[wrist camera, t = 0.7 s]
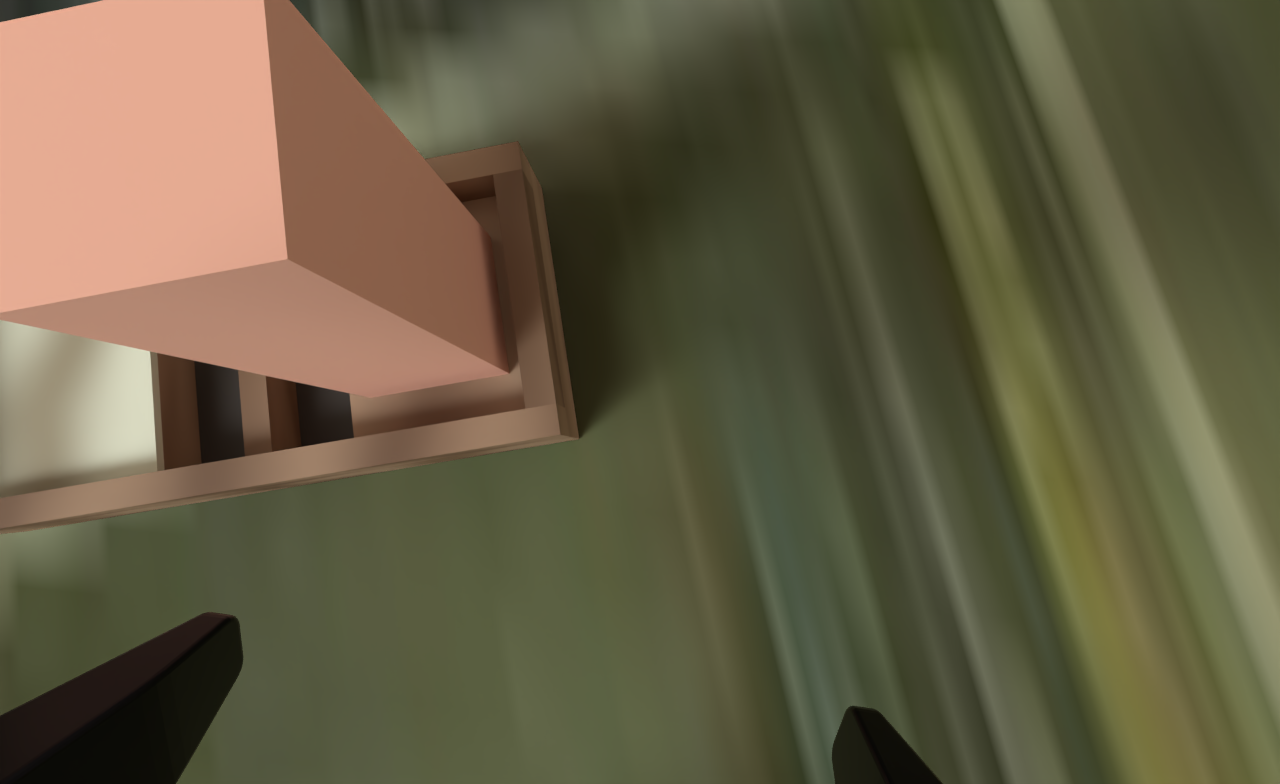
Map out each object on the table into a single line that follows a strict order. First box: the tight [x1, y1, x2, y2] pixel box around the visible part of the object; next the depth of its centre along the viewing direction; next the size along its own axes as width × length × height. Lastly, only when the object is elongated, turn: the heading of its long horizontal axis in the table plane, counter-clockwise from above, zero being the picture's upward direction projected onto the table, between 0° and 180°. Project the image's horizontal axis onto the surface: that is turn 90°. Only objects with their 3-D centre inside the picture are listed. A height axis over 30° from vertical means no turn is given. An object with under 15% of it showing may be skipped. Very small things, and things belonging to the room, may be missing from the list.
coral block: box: [0, 0, 509, 398], centre depth 16 cm, size 5×5×12 cm
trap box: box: [0, 141, 579, 534], centre depth 22 cm, size 22×10×4 cm, turn 99°
